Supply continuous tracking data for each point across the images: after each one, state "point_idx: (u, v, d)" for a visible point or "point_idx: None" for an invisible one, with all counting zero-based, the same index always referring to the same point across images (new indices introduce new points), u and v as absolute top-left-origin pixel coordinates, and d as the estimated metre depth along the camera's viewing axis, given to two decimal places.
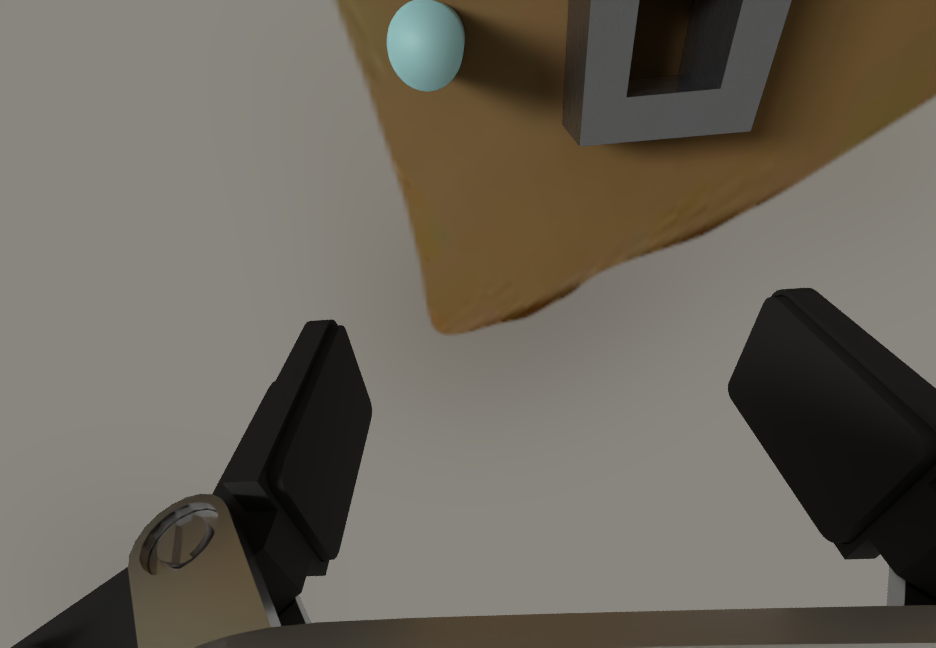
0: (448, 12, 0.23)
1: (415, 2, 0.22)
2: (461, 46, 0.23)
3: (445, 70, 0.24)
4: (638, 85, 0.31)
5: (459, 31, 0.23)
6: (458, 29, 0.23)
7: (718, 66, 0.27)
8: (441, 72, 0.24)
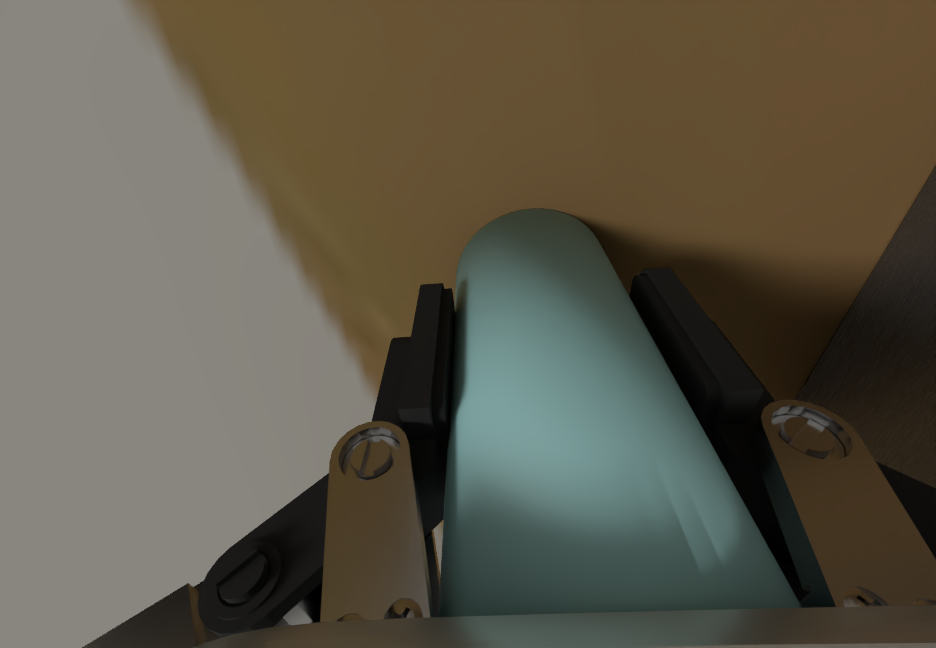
0: None
1: None
2: None
3: None
4: None
5: None
6: None
7: None
8: None
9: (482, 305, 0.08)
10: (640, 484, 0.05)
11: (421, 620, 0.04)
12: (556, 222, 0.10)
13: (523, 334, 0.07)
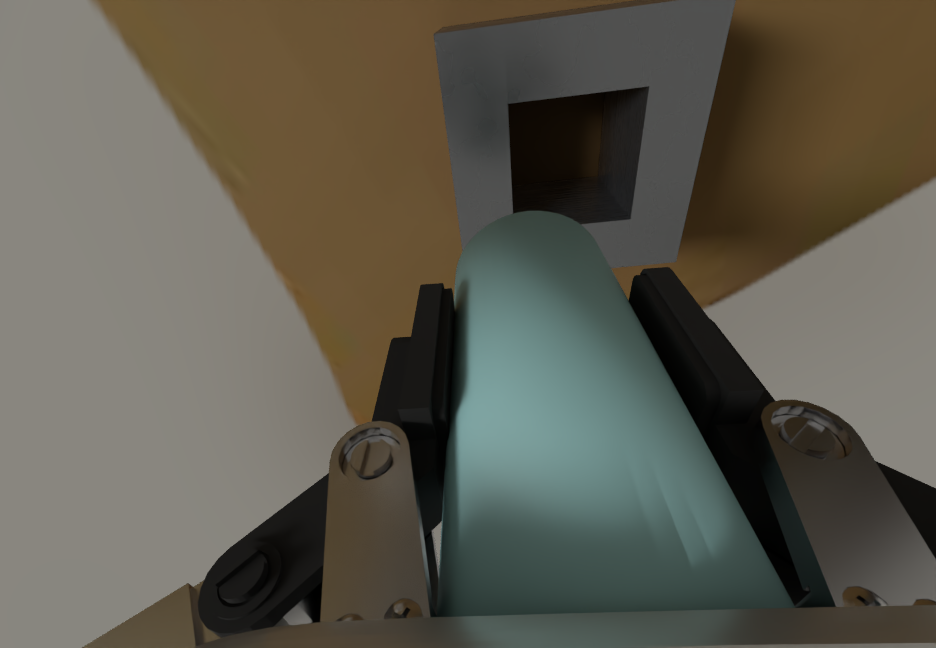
0: None
1: None
2: None
3: None
4: (542, 199, 0.25)
5: None
6: None
7: (627, 191, 0.22)
8: None
9: (481, 307, 0.08)
10: (635, 487, 0.05)
11: (421, 620, 0.04)
12: (555, 224, 0.10)
13: (522, 336, 0.07)
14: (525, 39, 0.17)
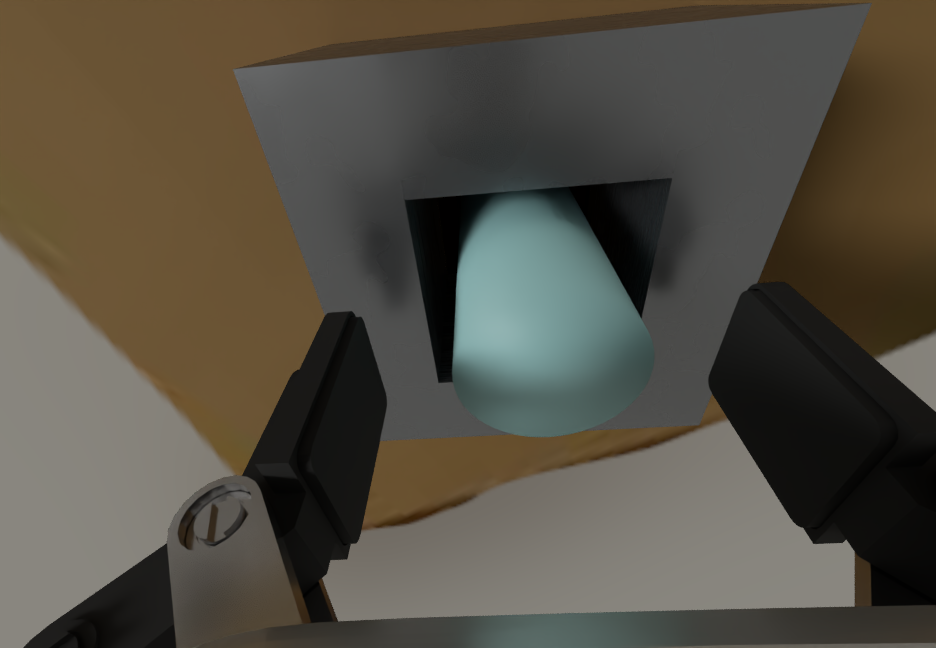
0: (631, 316, 0.08)
1: (544, 298, 0.08)
2: (646, 373, 0.09)
3: (593, 408, 0.10)
4: None
5: (650, 348, 0.09)
6: (649, 346, 0.08)
7: None
8: (582, 412, 0.10)
9: (478, 199, 0.13)
10: (553, 243, 0.09)
11: (421, 620, 0.04)
12: None
13: (502, 203, 0.12)
14: (424, 86, 0.08)
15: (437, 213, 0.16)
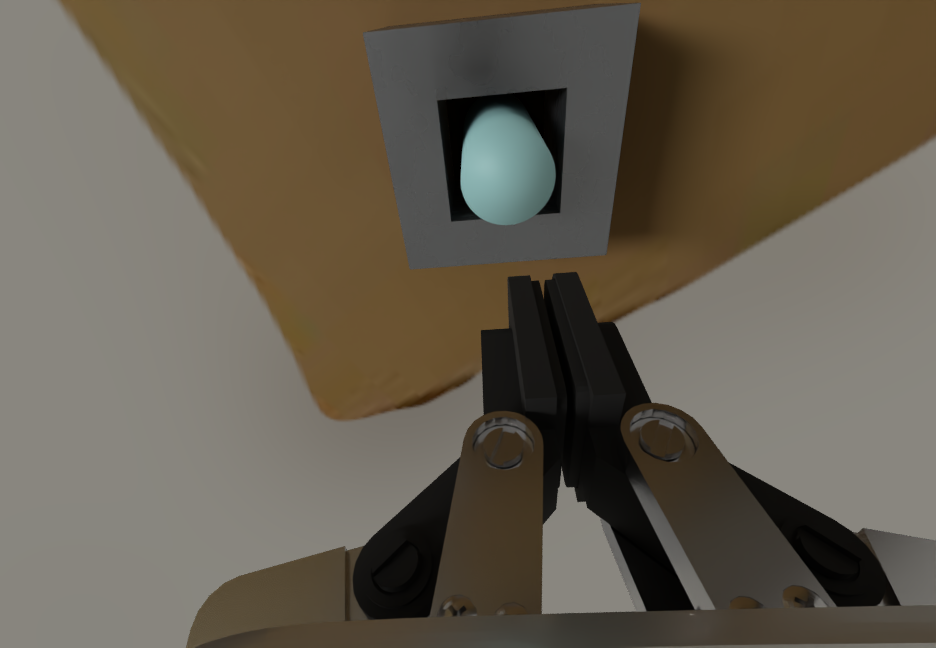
0: (541, 143, 0.18)
1: (501, 133, 0.18)
2: (553, 179, 0.19)
3: (530, 203, 0.20)
4: None
5: (552, 163, 0.18)
6: (551, 161, 0.18)
7: (558, 186, 0.23)
8: (525, 206, 0.20)
9: (474, 114, 0.23)
10: (509, 119, 0.19)
11: (421, 620, 0.04)
12: (505, 94, 0.25)
13: (487, 111, 0.22)
14: (448, 40, 0.18)
15: (449, 133, 0.26)
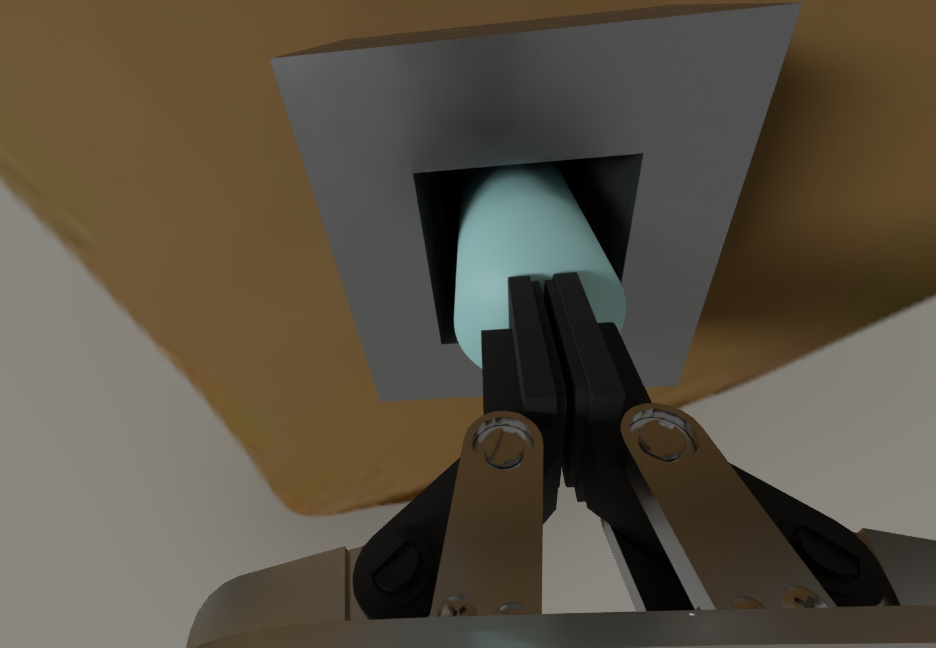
0: (605, 267, 0.10)
1: (531, 251, 0.09)
2: (620, 320, 0.11)
3: None
4: None
5: (622, 297, 0.10)
6: (621, 295, 0.10)
7: None
8: None
9: (477, 179, 0.15)
10: (541, 210, 0.11)
11: (421, 620, 0.04)
12: None
13: (498, 180, 0.13)
14: (431, 73, 0.10)
15: (439, 195, 0.18)
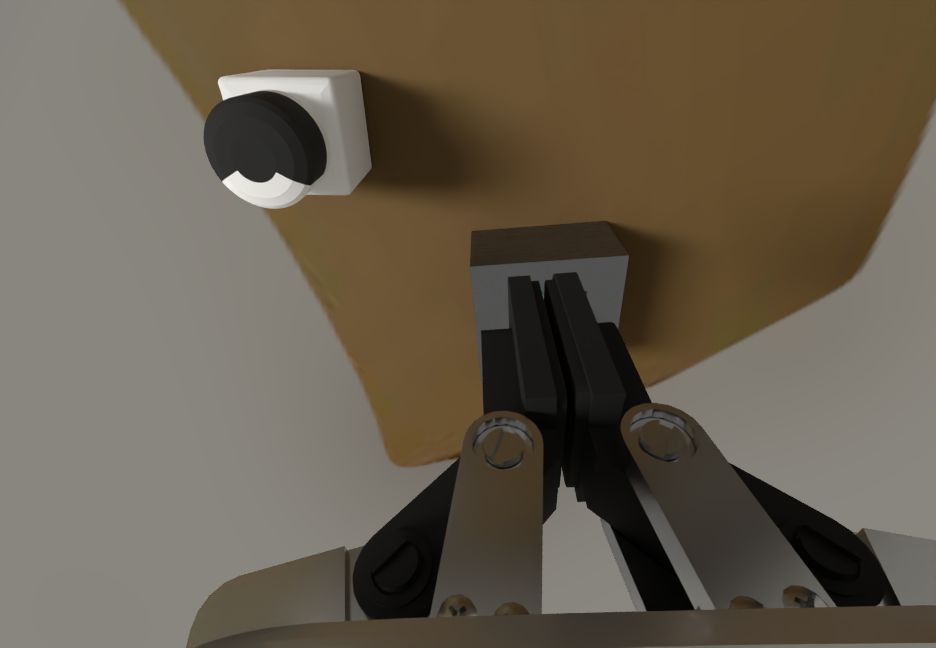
0: None
1: None
2: None
3: None
4: None
5: None
6: None
7: None
8: None
9: None
10: None
11: (421, 620, 0.04)
12: None
13: None
14: (518, 270, 0.32)
15: None
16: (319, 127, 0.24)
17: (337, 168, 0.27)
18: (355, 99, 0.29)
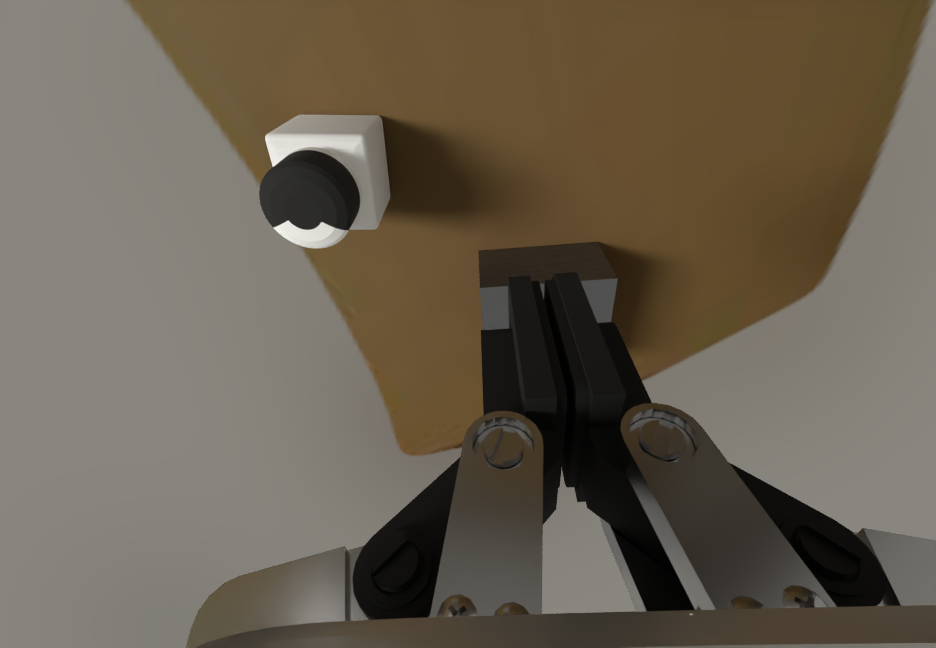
0: None
1: None
2: None
3: None
4: None
5: None
6: None
7: None
8: None
9: None
10: None
11: (421, 620, 0.04)
12: None
13: None
14: None
15: None
16: (354, 178, 0.29)
17: (367, 208, 0.31)
18: (379, 143, 0.33)
